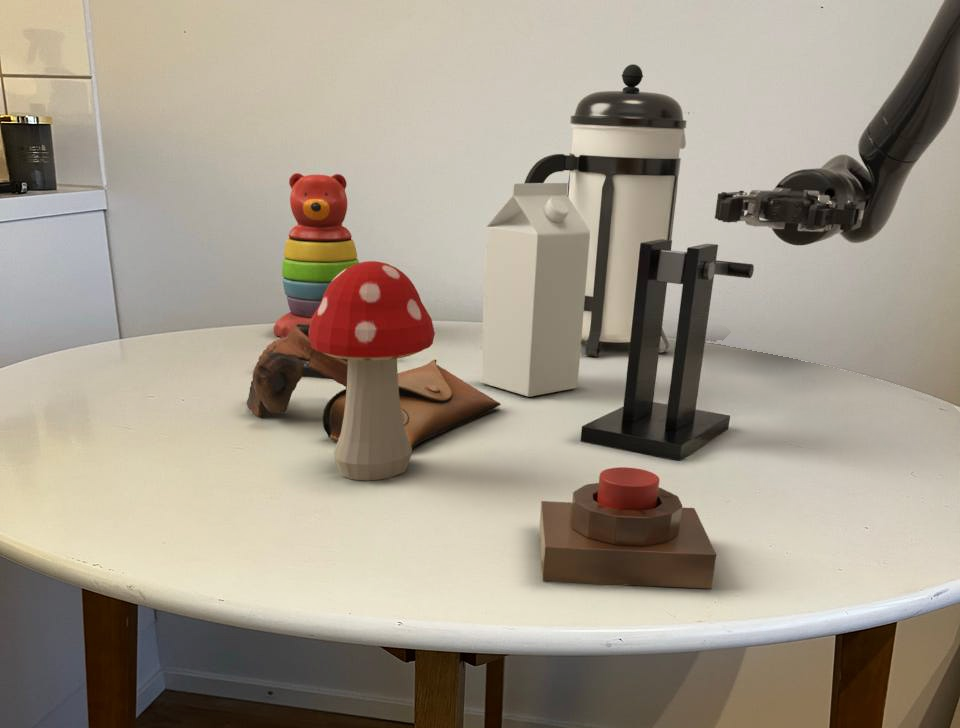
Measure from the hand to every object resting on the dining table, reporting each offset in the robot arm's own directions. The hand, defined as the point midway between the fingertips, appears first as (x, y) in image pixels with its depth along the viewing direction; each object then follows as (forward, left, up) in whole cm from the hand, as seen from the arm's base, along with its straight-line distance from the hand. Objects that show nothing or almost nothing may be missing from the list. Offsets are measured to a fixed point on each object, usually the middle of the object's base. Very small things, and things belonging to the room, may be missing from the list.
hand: (768, 214), depth 99 cm
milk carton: (+23, +4, -17) cm, 29 cm away
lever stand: (+12, +20, -17) cm, 29 cm away
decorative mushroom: (+35, +33, -17) cm, 51 cm away
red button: (+18, +49, -13) cm, 54 cm away
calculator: (+45, -2, -17) cm, 48 cm away
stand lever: (+9, +15, -5) cm, 18 cm away
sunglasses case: (+33, +20, -17) cm, 42 cm away
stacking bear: (+48, -20, -17) cm, 54 cm away
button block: (+18, +49, -17) cm, 55 cm away
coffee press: (+14, -18, -17) cm, 28 cm away
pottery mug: (+44, +18, -17) cm, 50 cm away
